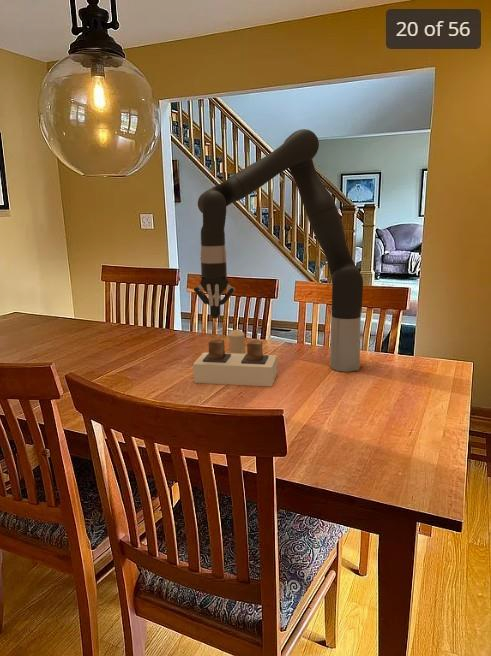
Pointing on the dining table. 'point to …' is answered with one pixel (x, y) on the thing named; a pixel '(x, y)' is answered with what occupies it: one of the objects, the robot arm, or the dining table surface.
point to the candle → (237, 342)
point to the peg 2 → (254, 350)
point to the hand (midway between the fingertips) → (215, 317)
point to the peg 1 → (216, 349)
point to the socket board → (235, 370)
